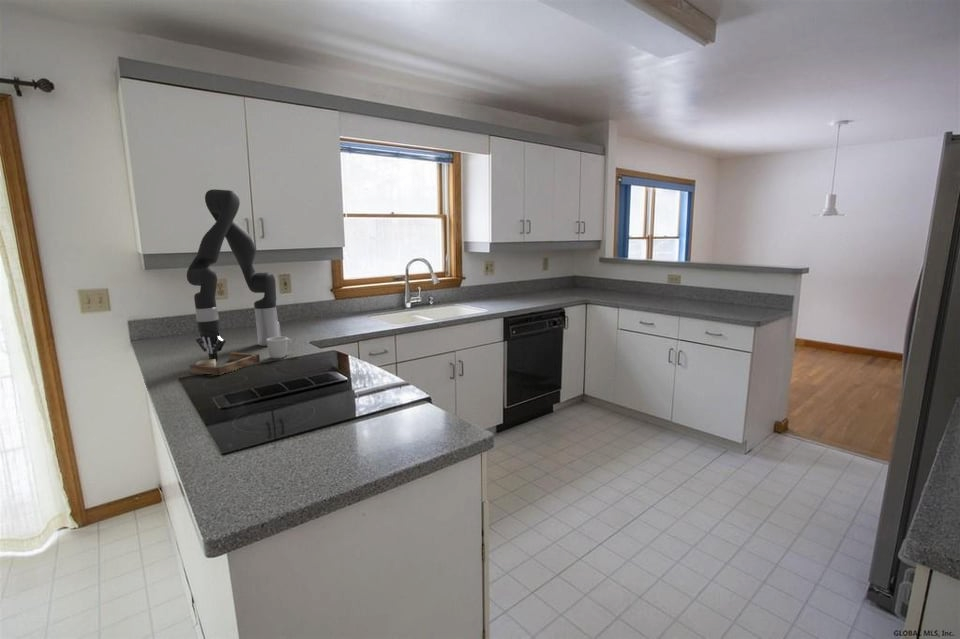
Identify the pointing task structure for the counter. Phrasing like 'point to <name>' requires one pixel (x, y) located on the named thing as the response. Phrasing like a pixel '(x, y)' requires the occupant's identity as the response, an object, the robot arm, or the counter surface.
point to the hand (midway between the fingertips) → (213, 362)
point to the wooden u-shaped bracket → (239, 362)
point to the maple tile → (207, 362)
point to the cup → (278, 346)
